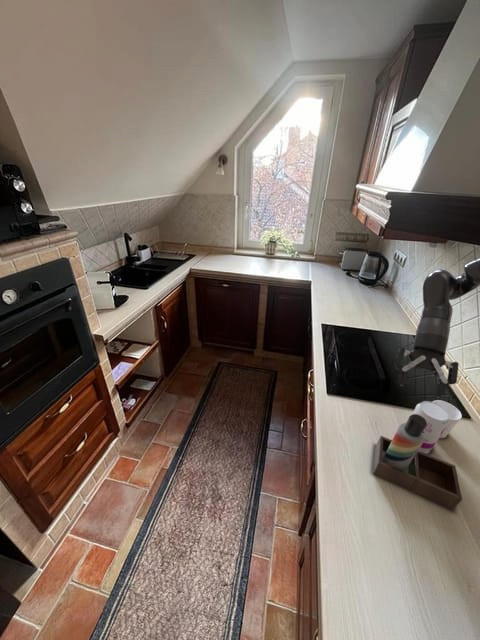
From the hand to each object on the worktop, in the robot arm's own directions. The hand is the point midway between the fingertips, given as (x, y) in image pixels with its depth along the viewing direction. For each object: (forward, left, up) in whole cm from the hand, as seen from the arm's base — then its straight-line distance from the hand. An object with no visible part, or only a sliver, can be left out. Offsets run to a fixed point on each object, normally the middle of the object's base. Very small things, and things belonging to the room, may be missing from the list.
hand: (419, 391), depth 69 cm
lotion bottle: (0, +9, -22) cm, 24 cm away
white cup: (-12, -12, -23) cm, 28 cm away
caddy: (-4, +9, -23) cm, 25 cm away
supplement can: (-6, -4, -23) cm, 24 cm away
